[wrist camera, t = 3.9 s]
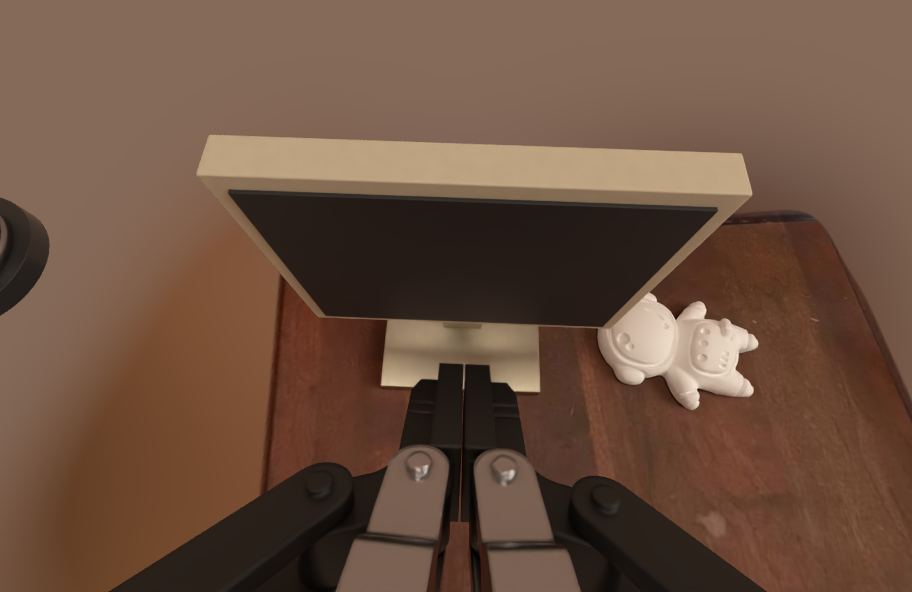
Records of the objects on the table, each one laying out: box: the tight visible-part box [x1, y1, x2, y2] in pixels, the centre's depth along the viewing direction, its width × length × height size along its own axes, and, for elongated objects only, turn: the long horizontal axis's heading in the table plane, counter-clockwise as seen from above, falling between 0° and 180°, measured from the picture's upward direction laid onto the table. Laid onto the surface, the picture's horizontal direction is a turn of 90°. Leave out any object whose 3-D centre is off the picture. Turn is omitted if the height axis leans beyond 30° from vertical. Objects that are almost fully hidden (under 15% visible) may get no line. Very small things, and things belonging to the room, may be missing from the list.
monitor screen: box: [196, 135, 752, 329], centre depth 20 cm, size 2×17×13 cm, turn 88°
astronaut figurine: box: [597, 293, 758, 410], centre depth 34 cm, size 9×12×3 cm
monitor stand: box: [380, 320, 540, 395], centre depth 30 cm, size 9×12×12 cm
